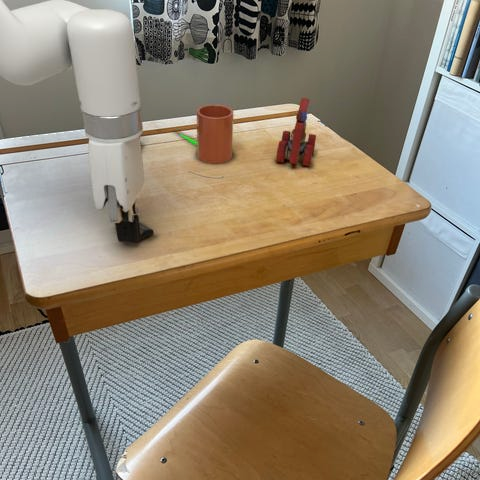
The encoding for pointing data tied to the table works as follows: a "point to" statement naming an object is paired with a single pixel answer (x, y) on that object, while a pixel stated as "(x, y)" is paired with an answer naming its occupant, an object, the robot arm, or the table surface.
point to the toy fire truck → (297, 140)
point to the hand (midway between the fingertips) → (129, 239)
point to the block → (145, 231)
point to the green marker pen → (189, 139)
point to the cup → (214, 133)
